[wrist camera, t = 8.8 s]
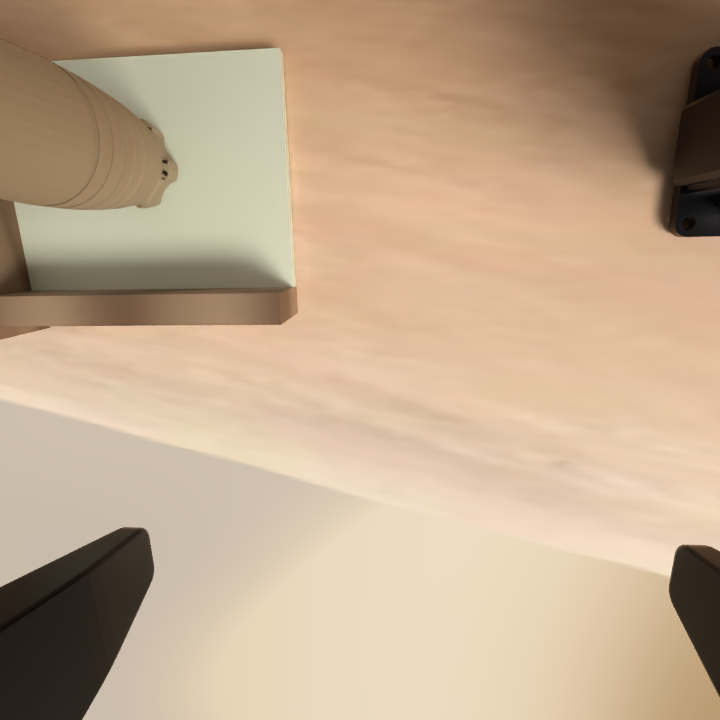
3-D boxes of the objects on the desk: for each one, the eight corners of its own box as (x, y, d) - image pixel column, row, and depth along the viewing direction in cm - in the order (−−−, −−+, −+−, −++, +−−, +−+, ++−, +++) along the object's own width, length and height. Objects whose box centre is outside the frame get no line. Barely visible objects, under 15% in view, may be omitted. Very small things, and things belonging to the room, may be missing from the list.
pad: (283, 54, 17) (279, 47, 17) (296, 286, 20) (293, 287, 19) (-2, 70, 18) (-15, 64, 18) (42, 289, 21) (32, 290, 20)
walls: (282, 36, 17) (259, -6, 14) (298, 326, 20) (281, 339, 17) (-32, 55, 18) (-113, 20, 15) (26, 327, 21) (-33, 340, 18)
